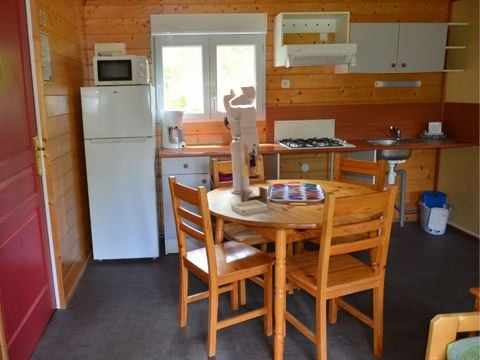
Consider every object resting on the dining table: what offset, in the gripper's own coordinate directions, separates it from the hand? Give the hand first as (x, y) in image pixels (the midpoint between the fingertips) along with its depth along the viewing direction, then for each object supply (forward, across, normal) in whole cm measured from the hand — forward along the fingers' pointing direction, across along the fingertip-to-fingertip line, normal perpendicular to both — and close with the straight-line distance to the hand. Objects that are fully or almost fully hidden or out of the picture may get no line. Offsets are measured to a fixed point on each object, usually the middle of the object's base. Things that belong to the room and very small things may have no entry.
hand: (250, 165), depth 223 cm
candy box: (+5, 0, 0) cm, 5 cm away
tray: (+22, +3, -3) cm, 23 cm away
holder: (+22, -8, +6) cm, 24 cm away
